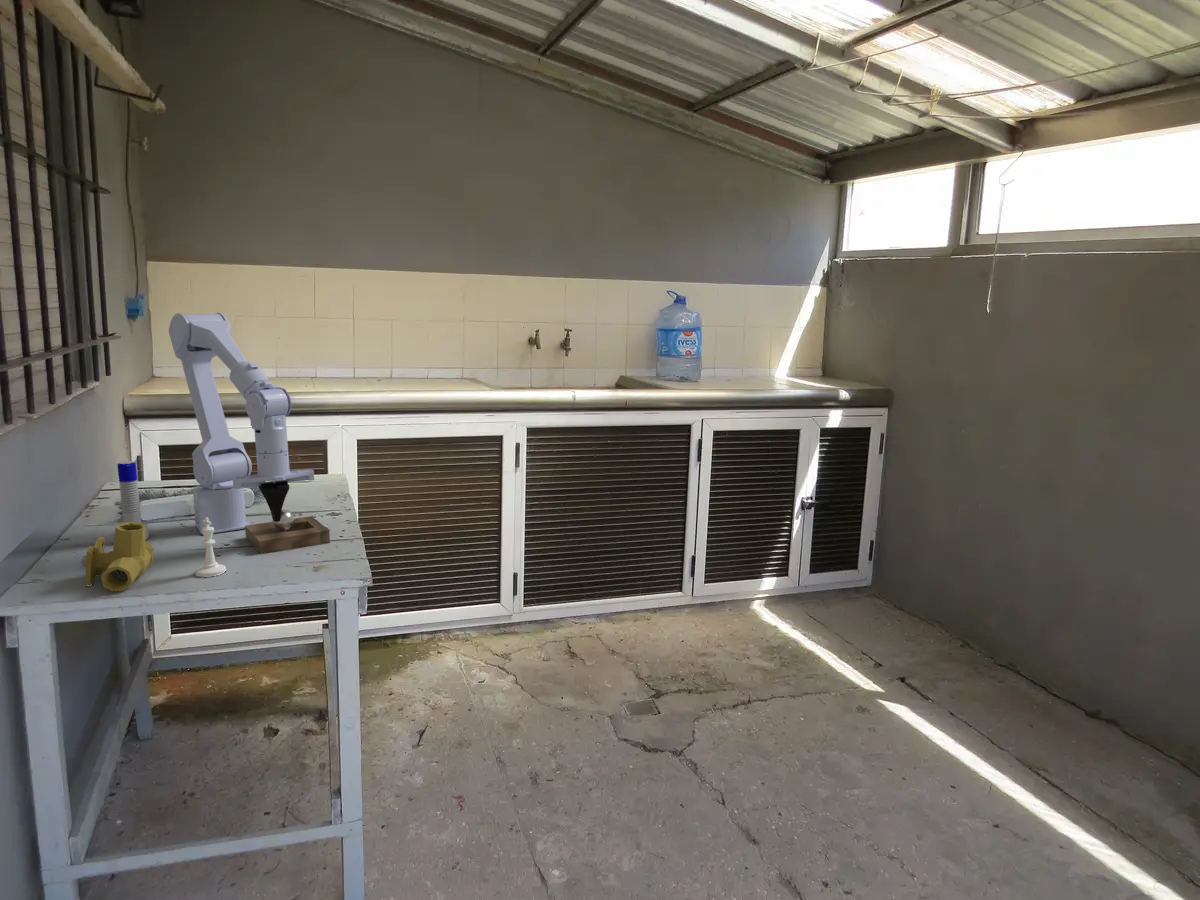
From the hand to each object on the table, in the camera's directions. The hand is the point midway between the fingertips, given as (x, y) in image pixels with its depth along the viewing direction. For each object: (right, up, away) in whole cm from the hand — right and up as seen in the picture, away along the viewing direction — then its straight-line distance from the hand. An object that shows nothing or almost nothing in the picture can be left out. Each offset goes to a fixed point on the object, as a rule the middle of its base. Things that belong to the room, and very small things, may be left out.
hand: (277, 520), depth 158 cm
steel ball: (+1, 0, +1) cm, 1 cm away
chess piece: (-5, -8, -16) cm, 18 cm away
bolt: (-29, -4, +2) cm, 29 cm away
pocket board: (+1, -4, +3) cm, 5 cm away
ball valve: (-20, -9, -20) cm, 29 cm away
